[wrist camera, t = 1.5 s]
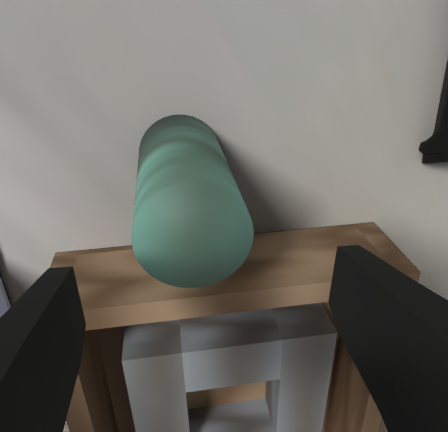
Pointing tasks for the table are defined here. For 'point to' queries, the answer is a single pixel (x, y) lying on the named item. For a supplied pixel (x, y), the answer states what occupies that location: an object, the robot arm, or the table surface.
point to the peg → (188, 206)
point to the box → (223, 341)
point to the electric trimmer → (438, 131)
